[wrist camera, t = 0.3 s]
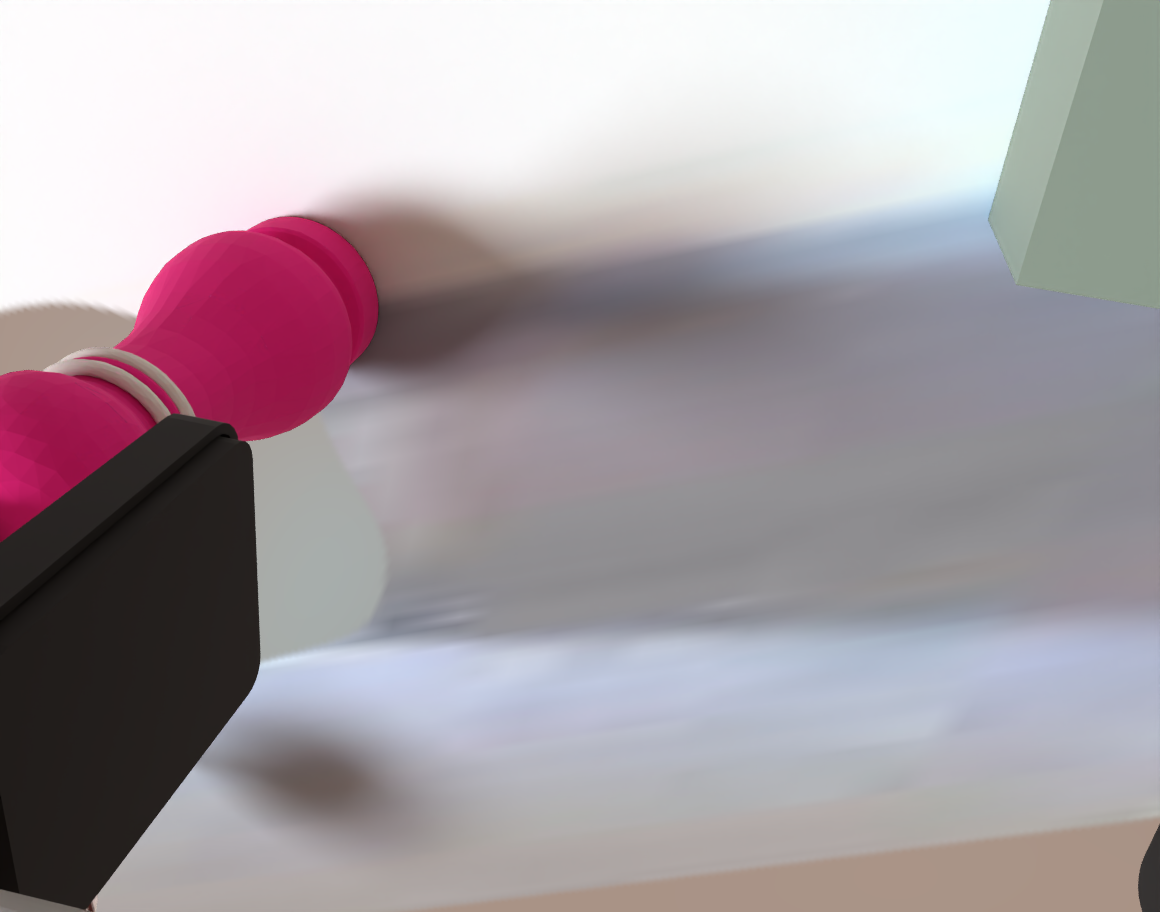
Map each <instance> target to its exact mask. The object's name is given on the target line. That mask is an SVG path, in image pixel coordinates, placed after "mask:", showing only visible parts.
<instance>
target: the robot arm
mask: <svg viewBox="0 0 1160 912" xmlns="http://www.w3.org/2000/svg"><path fill="white" fill-rule="evenodd" d="M259 633H260V632H259V607H258V581H257V557H256V531H255V506H254V480H253V458H252V451H251V448H250V446H249V444H248V443H247V442H246V441H241V440H238V435H237V433H236V431H235V428H234V427H233V426H232V425H230V424H229V423H224V422H219V421H214V420H209V419H204V418H199V417H194V416H189V415H183V414H176V413H173V414H171V415H169V416H167V417H165V418H164V419H163V420H161V421H160V422H159V423H157V424H156V425H155V426H153V427H152V428H151V429H149V430H148V431H147V432H146V433H144V434H143V435H142V436H140V437H139V438H138V439H136V440H135V441H134V442H132V443H131V444H130V445H128V446H127V447H126V448H124V449H123V450H122V451H120V452H119V453H118V454H117V455H115V456H114V457H113V458H111V459H110V460H109V461H107V462H106V463H105V464H103V465H102V466H101V467H99V468H98V469H97V470H95V471H94V472H93V473H91V474H90V475H89V476H88V477H86V478H85V479H84V480H82V481H81V482H80V483H78V484H77V485H76V486H74V487H73V488H72V489H70V490H69V491H68V492H66V493H65V494H64V495H62V496H61V497H60V498H59V499H57V500H56V501H55V502H53V503H52V504H51V505H49V506H48V507H47V508H45V509H44V510H43V511H41V512H40V513H39V514H37V515H36V516H35V517H33V518H32V519H31V520H30V521H28V522H27V523H26V524H24V525H23V526H22V527H20V528H19V529H18V530H16V531H15V532H14V533H12V534H11V535H10V536H8V537H7V538H6V539H4V540H3V541H2V542H1V543H0V912H91V911H87V910H86V909H87V908H88V906H89V905H90V904H91V902H92V901H93V900H94V898H95V897H96V896H97V894H98V893H99V892H100V890H101V889H102V888H103V886H104V885H105V884H106V883H107V881H108V880H109V879H110V877H111V876H112V875H113V873H114V872H115V871H116V869H117V868H118V867H119V865H120V864H121V863H122V861H123V860H124V859H125V857H126V856H127V855H128V853H129V852H130V851H131V849H132V848H133V847H134V845H135V844H136V843H137V841H138V840H139V839H140V837H141V836H142V835H143V833H144V832H145V831H146V829H147V828H148V827H149V826H150V824H151V823H152V822H153V820H154V819H155V818H156V816H157V815H158V814H159V812H160V811H161V810H162V808H163V807H164V806H165V804H166V803H167V802H168V800H169V799H170V798H171V796H172V795H173V794H174V792H175V791H176V790H177V788H178V787H179V786H180V784H181V783H182V782H183V780H184V779H185V778H186V776H187V775H188V774H189V772H190V771H191V770H192V769H193V767H194V766H195V765H196V763H197V762H198V761H199V759H200V758H201V757H202V755H203V754H204V753H205V751H206V750H207V749H208V747H209V746H210V745H211V743H212V742H213V741H214V739H215V738H216V737H217V735H218V734H219V733H220V731H221V730H222V729H223V727H224V726H225V725H226V723H227V722H228V721H229V719H230V718H231V717H232V716H233V714H234V713H235V712H236V710H237V709H238V708H239V706H240V705H241V704H242V702H243V701H244V700H245V698H246V697H247V696H248V694H249V693H250V691H251V689H252V687H253V685H254V683H255V681H256V678H257V674H258V671H259V666H260V634H259ZM1138 883H1139V884H1138V891H1139V899H1140V905H1141V908H1142V912H1160V825H1159V827H1158V829H1157V831H1156V833H1155V835H1154V837H1153V839H1152V842H1151V844H1150V846H1149V848H1148V850H1147V852H1146V854H1145V856H1144V859H1143V861H1142V864H1141V868H1140V873H1139V882H1138Z"/></svg>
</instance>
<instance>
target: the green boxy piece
mask: <svg viewBox="0 0 1160 912" xmlns="http://www.w3.org/2000/svg"><path fill="white" fill-rule="evenodd" d="M988 221H989V223H990V226H991V228H992V230H993V232H994V235H995V237H996V239H997V242H998V244H999V246H1000V249H1001V251H1002V253H1003V255H1004V258H1005V260H1006V262H1007V265H1008V267H1009V269H1010V272H1011V274H1012V276H1013V278H1014V281H1015V283H1016V285H1020V286H1026V287H1032V288H1038V289H1044V290H1050V291H1056V292H1062V293H1068V294H1074V295H1080V296H1086V297H1092V298H1098V299H1104V300H1110V301H1116V302H1122V303H1128V304H1134V305H1140V306H1146V307H1152V308H1158V309H1160V0H1051V1H1050V5H1049V8H1048V12H1047V15H1046V19H1045V22H1044V26H1043V29H1042V33H1041V36H1040V40H1039V43H1038V47H1037V50H1036V54H1035V57H1034V61H1033V64H1032V68H1031V71H1030V75H1029V78H1028V82H1027V85H1026V89H1025V92H1024V96H1023V99H1022V103H1021V106H1020V110H1019V113H1018V117H1017V120H1016V124H1015V127H1014V131H1013V134H1012V138H1011V141H1010V145H1009V148H1008V152H1007V155H1006V159H1005V162H1004V166H1003V169H1002V173H1001V176H1000V180H999V183H998V187H997V190H996V194H995V197H994V201H993V204H992V208H991V211H990V215H989V218H988Z"/></svg>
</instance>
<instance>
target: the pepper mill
mask: <svg viewBox="0 0 1160 912" xmlns="http://www.w3.org/2000/svg"><path fill="white" fill-rule="evenodd" d="M377 321H378V298H377V292H376V287H375V284H374V281H373V278H372V276H371V274H370V271H369V269H368V267H367V266H366V264H365V262H364V261H363V259H362V258H361V256H360V255H359V254H358V252H357V251H356V250H355V248H354V247H353V246H352V245H351V244H350V243H349V242H347V241H346V240H345V239H344V238H343V237H341V236H340V235H339V234H337V233H336V232H334V231H333V230H331V229H330V228H328V227H326V226H324V225H322V224H320V223H317V222H315V221H312V220H308V219H304V218H299V217H278V218H273V219H269V220H266V221H264V222H261V223H259V224H257V225H256V226H254V227H252V228H250V229H248V230H247V231H226V232H222V233H217V234H213V235H210V236H207V237H204V238H202V239H200V240H198V241H196V242H194V243H193V244H191V245H189V246H188V247H187V248H185V249H184V250H182V251H181V252H180V253H178V254H177V255H176V256H175V257H174V258H172V259H171V260H170V261H169V262H168V263H166V264H165V266H164V267H163V268H162V270H161V271H160V272H159V274H158V275H157V276H156V278H155V279H154V281H153V282H152V284H151V285H150V287H149V289H148V291H147V292H146V294H145V296H144V298H143V301H142V304H141V306H140V309H139V312H138V316H137V319H136V323H135V326H134V329H133V331H132V332H131V333H130V334H129V336H128V337H127V338H125V339H124V340H123V341H121V342H120V343H119V344H118V345H116V346H115V347H114V348H106V347H94V348H87V349H83V350H80V351H77V352H75V353H72V354H69V355H68V356H66V357H65V358H63V359H62V360H60V361H59V362H58V363H55V364H52V365H50V366H49V367H47V368H45V369H44V370H43V371H34V370H24V371H16V372H10V373H7V374H4V375H1V376H0V543H1V542H2V541H3V540H4V539H6V538H7V537H8V536H10V535H11V534H12V533H14V532H15V531H16V530H18V529H19V528H20V527H22V526H23V525H24V524H26V523H27V522H28V521H30V520H31V519H32V518H33V517H35V516H36V515H37V514H39V513H40V512H41V511H43V510H44V509H45V508H47V507H48V506H49V505H51V504H52V503H53V502H55V501H56V500H57V499H59V498H60V497H61V496H62V495H64V494H65V493H66V492H68V491H69V490H70V489H72V488H73V487H74V486H76V485H77V484H78V483H80V482H81V481H82V480H84V479H85V478H86V477H88V476H89V475H90V474H91V473H93V472H94V471H95V470H97V469H98V468H99V467H101V466H102V465H103V464H105V463H106V462H107V461H109V460H110V459H111V458H113V457H114V456H115V455H117V454H118V453H119V452H120V451H122V450H123V449H124V448H126V447H127V446H128V445H130V444H131V443H132V442H134V441H135V440H136V439H138V438H139V437H140V436H142V435H143V434H144V433H146V432H147V431H148V430H149V429H151V428H152V427H153V426H155V425H156V424H157V423H159V422H160V421H161V420H163V419H164V418H165V417H167V416H169V415H171V414H173V413H176V414H183V415H189V416H194V417H199V418H204V419H209V420H214V421H219V422H224V423H229V424H230V425H232V426H233V427H234V428H235V431H236V433H237V435H238V440H241V441H253V440H261V439H265V438H269V437H272V436H275V435H278V434H281V433H284V432H287V431H290V430H292V429H294V428H296V427H298V426H299V425H301V424H303V423H305V422H306V421H308V420H309V419H310V418H312V417H313V416H314V415H316V414H317V413H319V412H320V411H321V410H323V409H324V408H325V407H326V406H327V405H328V404H329V403H330V402H331V401H332V400H333V399H334V397H335V396H336V394H337V393H338V391H339V390H340V388H341V387H342V385H343V383H344V380H345V378H346V375H347V373H348V370H349V367H350V365H351V364H352V363H353V362H354V361H355V360H356V359H357V358H358V357H359V356H360V355H361V354H362V353H363V352H364V351H365V349H366V348H367V347H368V345H369V344H370V342H371V340H372V338H373V335H374V333H375V330H376V326H377Z"/></svg>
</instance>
